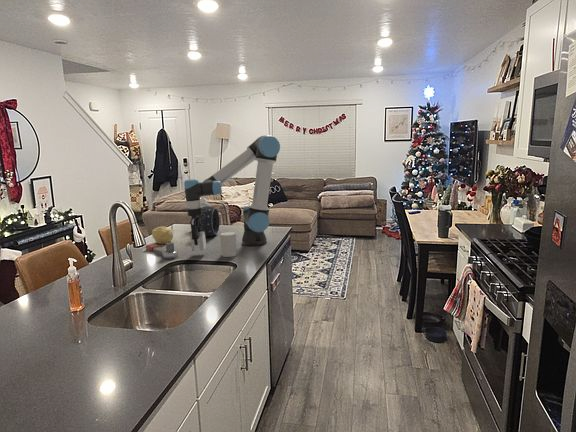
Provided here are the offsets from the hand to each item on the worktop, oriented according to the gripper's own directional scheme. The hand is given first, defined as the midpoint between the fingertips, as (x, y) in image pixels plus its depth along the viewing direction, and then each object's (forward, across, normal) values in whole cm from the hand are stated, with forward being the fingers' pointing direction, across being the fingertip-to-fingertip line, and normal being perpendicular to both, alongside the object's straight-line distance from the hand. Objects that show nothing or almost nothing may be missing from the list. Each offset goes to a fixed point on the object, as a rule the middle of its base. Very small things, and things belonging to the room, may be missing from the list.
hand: (198, 248), depth 214 cm
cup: (+4, +1, +17) cm, 17 cm away
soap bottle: (+4, -70, -12) cm, 71 cm away
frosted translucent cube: (0, 0, 0) cm, 0 cm away
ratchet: (+3, -5, -23) cm, 24 cm away
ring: (+4, -44, -4) cm, 45 cm away
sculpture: (+3, -31, -30) cm, 43 cm away
